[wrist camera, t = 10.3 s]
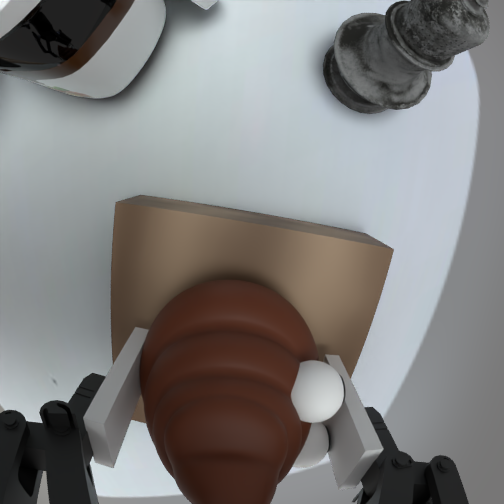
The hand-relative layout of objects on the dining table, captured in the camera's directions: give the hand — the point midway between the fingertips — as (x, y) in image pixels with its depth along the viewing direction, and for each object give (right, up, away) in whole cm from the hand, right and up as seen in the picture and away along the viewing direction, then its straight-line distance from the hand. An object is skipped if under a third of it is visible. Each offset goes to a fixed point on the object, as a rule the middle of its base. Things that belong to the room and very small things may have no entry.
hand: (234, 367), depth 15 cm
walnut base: (0, +1, +5) cm, 5 cm away
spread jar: (-7, +20, 0) cm, 22 cm away
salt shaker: (+8, +17, +2) cm, 19 cm away
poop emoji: (0, 0, +1) cm, 1 cm away
